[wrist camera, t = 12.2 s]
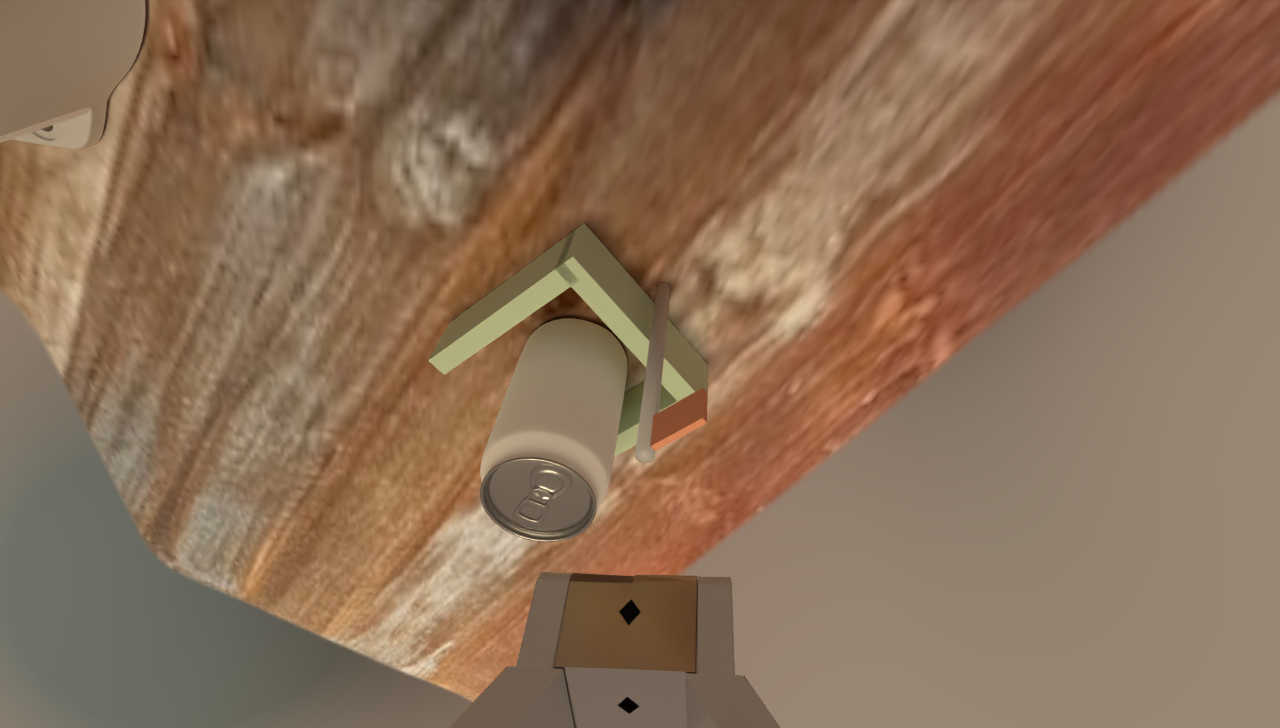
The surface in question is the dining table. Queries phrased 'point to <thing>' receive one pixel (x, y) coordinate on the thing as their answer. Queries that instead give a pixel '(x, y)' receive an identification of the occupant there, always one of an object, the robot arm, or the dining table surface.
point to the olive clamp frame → (587, 266)
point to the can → (556, 432)
